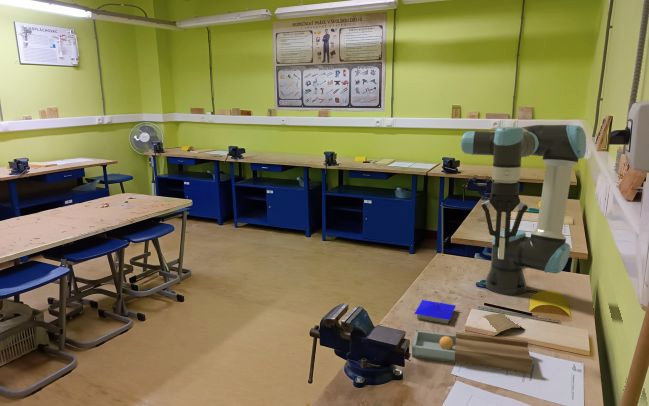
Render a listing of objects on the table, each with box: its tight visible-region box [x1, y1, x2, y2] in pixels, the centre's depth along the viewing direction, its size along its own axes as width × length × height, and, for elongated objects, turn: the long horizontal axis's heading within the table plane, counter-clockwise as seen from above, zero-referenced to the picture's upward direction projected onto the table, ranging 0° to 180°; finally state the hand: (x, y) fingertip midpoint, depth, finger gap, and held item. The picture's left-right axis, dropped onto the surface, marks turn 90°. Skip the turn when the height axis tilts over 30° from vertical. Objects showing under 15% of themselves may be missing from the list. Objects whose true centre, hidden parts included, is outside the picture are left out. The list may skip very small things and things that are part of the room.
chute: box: [455, 332, 533, 374], centre depth 127 cm, size 10×20×4 cm, turn 72°
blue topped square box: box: [414, 299, 457, 325], centre depth 154 cm, size 12×12×5 cm
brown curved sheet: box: [483, 313, 521, 337], centre depth 146 cm, size 14×10×3 cm
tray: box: [411, 329, 456, 364], centre depth 132 cm, size 10×12×3 cm
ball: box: [439, 336, 453, 350], centre depth 131 cm, size 4×4×4 cm
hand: (500, 257), depth 133 cm, fingers closed
